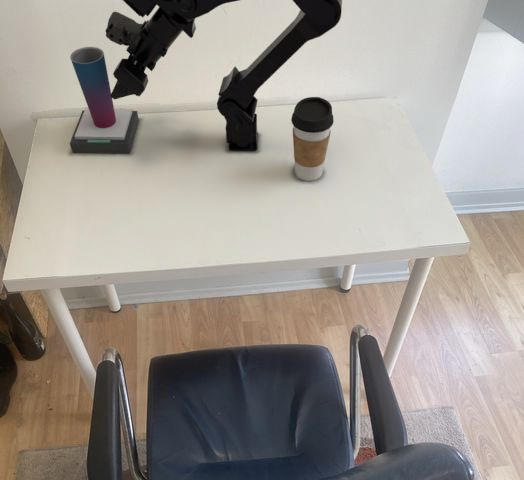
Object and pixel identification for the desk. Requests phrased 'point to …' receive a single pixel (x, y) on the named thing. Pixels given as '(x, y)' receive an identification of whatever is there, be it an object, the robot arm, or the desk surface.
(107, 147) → the scale
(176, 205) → the desk surface
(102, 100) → the cup
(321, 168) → the coffee cup
